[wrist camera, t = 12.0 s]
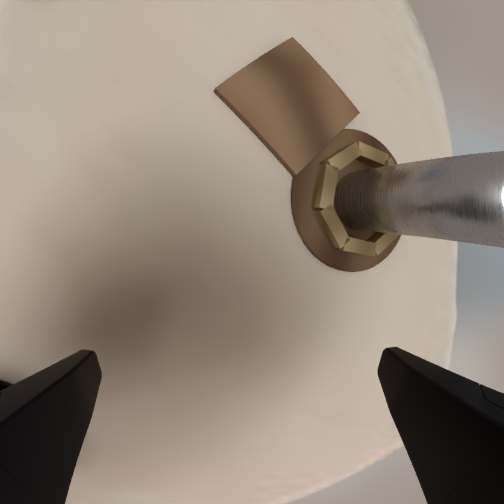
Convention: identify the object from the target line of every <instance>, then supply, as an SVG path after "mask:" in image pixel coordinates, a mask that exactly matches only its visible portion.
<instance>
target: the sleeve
mask: <svg viewBox="0 0 504 504" xmlns="http://www.w3.org/2000/svg"><path fill="white" fill-rule="evenodd" d="M334 206H335V210H336V213H337V215H338V217H339V219H340V220H341V221H342V223H343V224H344V225H346V226H347V227H349V228H351V229H355V230H364V231H373V232H383V233H392V234H401V235H410V236H419V237H427V238H436V239H444V240H452V241H459V242H467V243H474V244H482V245H489V246H496V247H502V248H504V151H501V152H489V153H479V154H470V155H462V156H453V157H445V158H437V159H430V160H423V161H416V162H409V163H403V164H396V165H390V166H384V167H378V168H372V169H366V170H361V171H355V172H350V173H348V174H346V175H344V176H343V177H342V178H341V179H340V180H339V182H338V183H337V186H336V189H335V196H334Z"/></svg>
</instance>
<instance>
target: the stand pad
mask: <svg viewBox="0 0 504 504" xmlns="http://www.w3.org/2000/svg"><path fill="white" fill-rule="evenodd" d="M214 92H215V93H216V94H217V95H218V96H219V97H220V98H221V99H222V100H223V101H224V102H225V103H226V104H227V105H228V106H229V107H230V108H231V109H232V110H233V111H234V112H235V113H236V114H237V115H238V117H239V118H240V119H241V120H242V121H243V122H244V123H245V124H246V125H247V126H248V127H249V128H250V129H251V130H252V131H253V132H254V133H255V134H256V135H257V137H258V138H259V139H260V140H261V141H262V142H263V143H264V144H265V145H266V146H267V147H268V149H269V150H270V151H271V152H272V153H273V154H274V155H275V156H276V157H277V159H278V160H279V161H280V162H281V163H282V164H283V165H284V166H285V168H286V169H287V170H288V171H289V172H290V173H291V174H292V176H295V175H297V174H298V173H299V172H300V171H301V170H302V169H303V168H304V167H305V166H306V165H307V164H308V163H309V162H310V161H311V160H312V159H313V158H314V157H315V156H316V155H317V154H318V153H319V152H320V151H321V150H322V149H323V148H324V147H325V146H326V145H327V144H328V143H329V142H330V141H331V140H332V139H333V138H334V137H335V136H336V135H337V134H338V133H339V132H340V131H341V130H342V129H343V128H345V127H346V126H347V125H348V124H349V123H350V122H351V121H352V120H353V119H354V118H355V117H356V116H357V115H358V114H359V113H360V112H359V111H358V110H357V108H356V107H355V106H354V105H353V103H352V102H351V101H350V100H349V98H348V97H347V96H346V95H345V93H344V92H343V91H342V90H341V89H340V87H339V86H338V85H337V84H336V83H335V82H334V80H333V79H332V78H331V77H330V76H329V75H328V74H327V72H326V71H325V70H324V69H323V68H322V67H321V66H320V65H319V64H318V63H317V61H316V60H315V59H314V58H313V57H312V56H311V55H310V54H309V53H308V52H307V51H306V50H305V49H304V48H303V47H302V46H301V45H300V44H299V43H298V42H297V41H296V40H295V39H294V38H293V37H292V38H290V39H288V40H287V41H285V42H283V43H281V44H280V45H278V46H277V47H275V48H273V49H272V50H270V51H268V52H267V53H265V54H264V55H262V56H261V57H259V58H258V59H256V60H254V61H253V62H251V63H250V64H248V65H247V66H246V67H244V68H243V69H241V70H240V71H238V72H237V73H235V74H234V75H233V76H231V77H230V78H228V79H227V80H226V81H224V82H223V83H222V84H220V85H219V86H217V87H216V88H215V90H214Z"/></svg>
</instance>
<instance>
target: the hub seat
mask: <svg viewBox="0 0 504 504" xmlns="http://www.w3.org/2000/svg"><path fill="white" fill-rule="evenodd" d="M396 164H397V162H396V160H395V159H394V157H393V156H392V154H391V153H390V152H389V150H388V149H387V148H386V147H385V146H384V145H383V144H382V143H381V142H380V141H378V140H377V139H376V138H374V137H373V136H371V135H369V134H367V133H364V132H362V131H358V130H354V129H342V130H341V131H340V132H339V133H338V134H337V135H336V136H335V137H334V138H333V139H332V140H331V141H330V142H329V143H328V144H327V145H326V146H325V147H324V148H323V149H322V150H321V151H320V152H319V153H318V154H317V155H316V156H315V157H314V158H313V159H312V160H311V161H310V162H309V163H308V164H307V165H306V166H305V167H304V168H303V169H302V170H301V171H300V172H299V173H298V174H297V175H295V176H293V180H292V187H291V206H292V213H293V217H294V221H295V225H296V227H297V230H298V233H299V234H300V236H301V238H302V240H303V242H304V243H305V245H306V246H307V248H308V249H309V250H310V251H311V252H312V254H313V255H314V256H315V257H317V258H318V259H319V260H320V261H322V262H323V263H325V264H327V265H328V266H331V267H333V268H336V269H339V270H343V271H349V272H357V271H363V270H367V269H369V268H372V267H374V266H376V265H377V264H379V263H380V262H382V261H383V260H384V259H385V258H386V257H387V256H388V255H389V254H390V253H391V252H392V250H393V249H394V247H395V246H396V244H397V242H398V240H399V239H400V236H401V234H392V233H383V232H373V231H364V230H355V229H351V228H349V227H347V226H346V225H344V224H343V223H342V221H341V220H340V219H339V217H338V215H337V213H336V210H335V206H334V196H335V189H336V186H337V183H338V182H339V180H340V179H341V178H342V177H343V176H344V175H346V174H348V173H350V172H355V171H361V170H366V169H372V168H378V167H384V166H390V165H396Z"/></svg>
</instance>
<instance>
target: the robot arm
mask: <svg viewBox="0 0 504 504" xmlns="http://www.w3.org/2000/svg"><path fill="white" fill-rule="evenodd" d="M378 377H379V380H380V383H381V386H382V389H383V392H384V395H385V398H386V402H387V405H388V408H389V411H390V413H391V416H392V418H393V420H394V422H395V425H396V427H397V429H398V432H399V434H400V436H401V439H402V441H403V443H404V446H405V448H406V450H407V453H408V455H409V457H410V460H411V462H412V465H413V467H414V470H415V472H416V475H417V477H418V480H419V482H420V484H421V488H422V490H423V493H424V495H425V498H426V501H427V503H428V504H504V393H501V392H498V391H496V390H493V389H491V388H488V387H486V386H483V385H479V384H478V383H477V382H474V381H472V380H470V379H467V378H465V377H463V376H460V375H458V374H456V373H453V372H451V371H449V370H447V369H444V368H442V367H440V366H438V365H435V364H433V363H431V362H429V361H426V360H424V359H422V358H420V357H418V356H415V355H413V354H411V353H409V352H407V351H404V350H402V349H400V348H398V347H390V348H385V349H384V350H383V352H382V356H381V359H380V363H379V366H378ZM101 378H102V373H101V369H100V366H99V362H98V359H97V356H96V353H95V352H94V351H92V350H81V351H79V352H77V353H75V354H73V355H71V356H69V357H67V358H65V359H63V360H61V361H59V362H57V363H55V364H53V365H51V366H49V367H47V368H45V369H43V370H41V371H39V372H37V373H36V374H34V375H32V376H30V377H28V378H26V379H24V380H22V381H20V382H18V383H16V384H14V385H11V384H8V383H5V382H2V381H0V504H65V501H66V497H67V494H68V490H69V486H70V483H71V479H72V476H73V472H74V469H75V466H76V463H77V459H78V456H79V453H80V450H81V447H82V444H83V441H84V438H85V435H86V432H87V429H88V426H89V424H90V421H91V418H92V414H93V410H94V406H95V402H96V398H97V394H98V390H99V386H100V382H101Z"/></svg>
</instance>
